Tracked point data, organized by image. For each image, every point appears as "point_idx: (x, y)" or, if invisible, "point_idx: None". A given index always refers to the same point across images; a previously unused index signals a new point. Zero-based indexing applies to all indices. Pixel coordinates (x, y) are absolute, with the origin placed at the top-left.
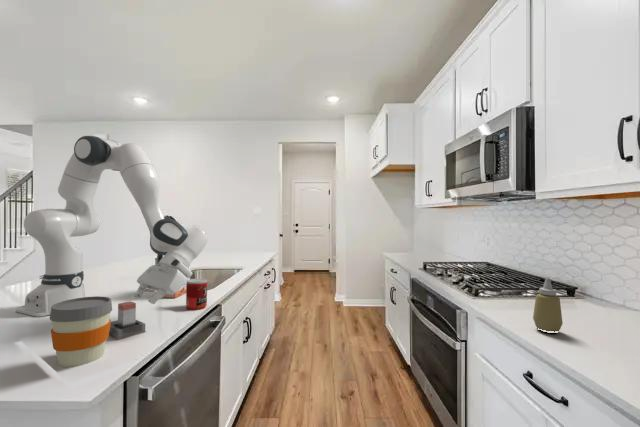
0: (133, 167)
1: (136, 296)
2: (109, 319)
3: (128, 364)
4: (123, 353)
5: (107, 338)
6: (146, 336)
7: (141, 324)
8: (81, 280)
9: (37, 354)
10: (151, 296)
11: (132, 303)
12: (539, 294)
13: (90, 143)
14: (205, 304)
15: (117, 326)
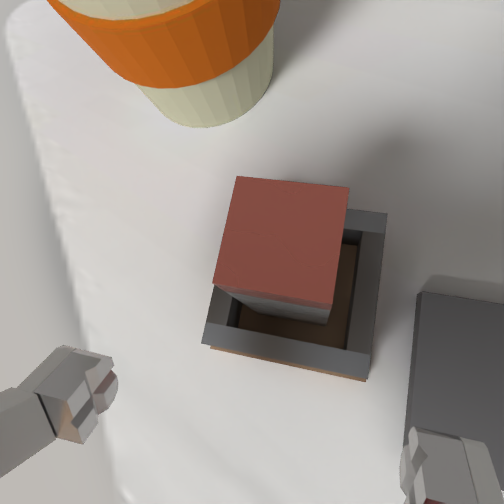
0: None
1: (412, 437)
2: (99, 24)
3: (50, 139)
4: (135, 174)
5: (110, 67)
6: (198, 335)
7: (211, 322)
8: None
9: (430, 13)
10: (68, 395)
11: (231, 259)
12: None
13: None
14: None
15: (357, 262)
